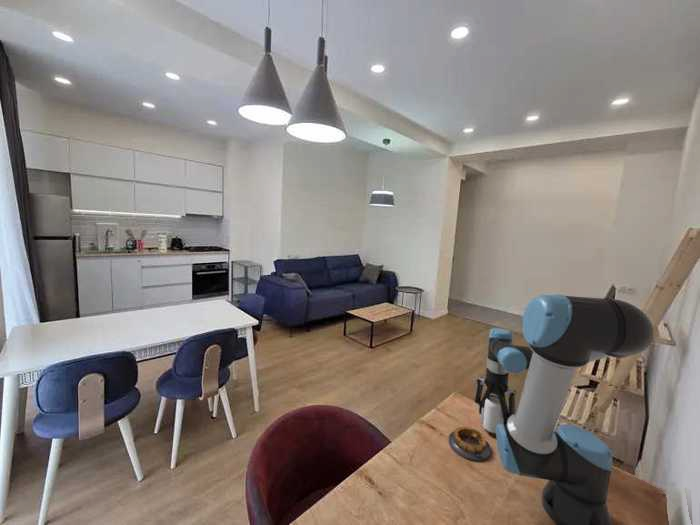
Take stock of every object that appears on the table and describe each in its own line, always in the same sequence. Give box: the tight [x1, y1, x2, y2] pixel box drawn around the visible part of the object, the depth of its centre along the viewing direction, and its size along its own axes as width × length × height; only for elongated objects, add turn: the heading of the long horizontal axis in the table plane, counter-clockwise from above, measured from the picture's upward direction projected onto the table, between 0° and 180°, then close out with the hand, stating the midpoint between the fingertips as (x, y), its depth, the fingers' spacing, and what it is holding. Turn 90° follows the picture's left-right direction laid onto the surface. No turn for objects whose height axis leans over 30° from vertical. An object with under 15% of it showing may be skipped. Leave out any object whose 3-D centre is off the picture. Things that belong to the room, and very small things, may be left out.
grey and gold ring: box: [448, 426, 492, 462], centre depth 104 cm, size 14×14×4 cm
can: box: [482, 394, 503, 435], centre depth 111 cm, size 6×6×12 cm
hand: (492, 427), depth 111 cm, fingers closed on can, 6 cm apart
